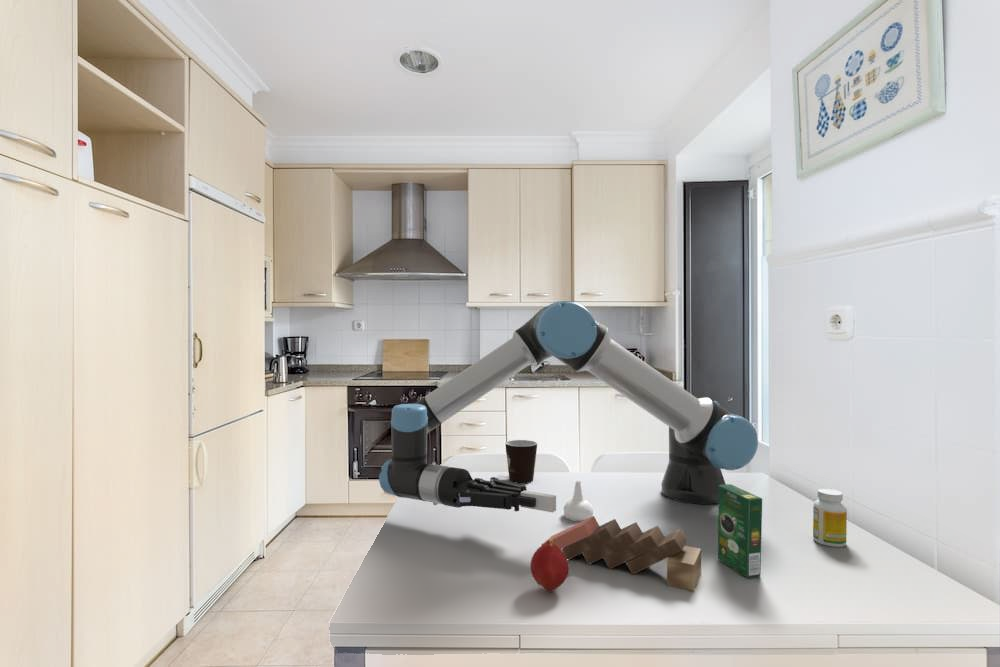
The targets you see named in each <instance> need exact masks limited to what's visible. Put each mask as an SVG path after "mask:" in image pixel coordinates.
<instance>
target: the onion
mask: <svg viewBox="0 0 1000 667" xmlns="http://www.w3.org/2000/svg"><path fill="white" fill-rule="evenodd" d="M546 540H547V541H546ZM546 540H545V541H546V543H545V544H544V545H542V544H541V545H542V546H539V547H538V548H537V549H536V550H535V551H534V554H533V556H532V557H531V560H530V572H531V575H532V577H533V580H534V581H535V582H536V583H537V584H538V585H539V586H541V587H542V588H543V589H544V590H545V591H547V592H548V593H553V592H554V591H555V590H556V589H558V588H559V587H560V586H561V585H562V584H564V582H566V579H567V578H568V577H569V573H570V572H569V571H570V564H569V560H567V558H566V555H565V554H564V552H563V550H562V549H560V548H559V547H558V546H557V545H555V544H554V542H553V540H551V539H549V538H548V539H546Z"/></svg>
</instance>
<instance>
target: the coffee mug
mask: <svg viewBox="0 0 1000 667" xmlns="http://www.w3.org/2000/svg"><path fill="white" fill-rule="evenodd" d="M537 449H538V442H537V441H534V440H528V439H527V440H526V439H515V440H514V439H512V440H508V441H506V442H505V451H506V459H507V469H508V478H509V482H511V481H512V482H511V483H513V482H517V483H516V484H521V483H523V484H528V483H527V482H530V483H532V482H533V481H534V476H535V468H536V459H537V451H538V450H537ZM531 481H532V482H531Z"/></svg>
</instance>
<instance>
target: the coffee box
mask: <svg viewBox="0 0 1000 667" xmlns="http://www.w3.org/2000/svg"><path fill="white" fill-rule="evenodd" d="M717 504H718V507H717V508H718V511H717V512H718V514H717V515H718V519H717V527H718V528H717V559H718V560H719V561H721V562H722V563H723V564H725V565H727V566H728V567H730V568H732V569H733V570H734V571H736V572H737V573H738V574H739V575H742V576H743V577H745V578H747V579H756V578H760V577H761V567H762V566H761V565H762V559H761V558H762V531H763V530H762V526H763V525H762V522H763V521H762V520H763V498H762V497H760V496H757V495H755V494H753V493H750V492H748V491H746V490H744V489H742V488H741V487H740V488H739V486H738V487H737V486H736V485H733V484H731V483H730V484H726V483H725V485H719V503H717Z"/></svg>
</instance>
